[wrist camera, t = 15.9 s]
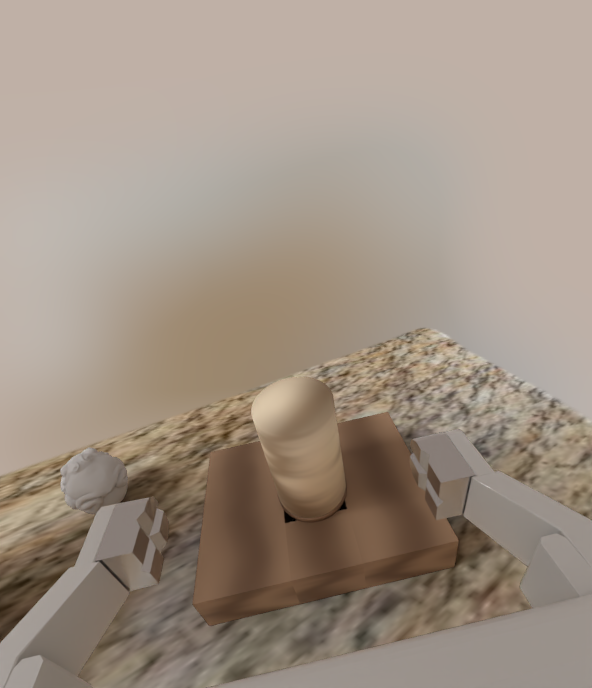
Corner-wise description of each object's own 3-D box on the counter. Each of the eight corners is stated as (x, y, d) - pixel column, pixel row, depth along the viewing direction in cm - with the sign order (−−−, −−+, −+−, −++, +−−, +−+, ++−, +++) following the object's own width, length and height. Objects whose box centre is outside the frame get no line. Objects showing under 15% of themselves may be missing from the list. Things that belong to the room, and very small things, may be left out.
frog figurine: (119, 469, 41) (91, 430, 37) (151, 491, 37) (124, 451, 34) (71, 510, 37) (35, 471, 33) (102, 540, 33) (65, 500, 30)
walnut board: (209, 625, 25) (192, 604, 23) (221, 475, 37) (210, 452, 35) (454, 566, 26) (458, 540, 24) (388, 436, 38) (387, 411, 36)
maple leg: (272, 516, 32) (233, 412, 24) (313, 471, 35) (290, 368, 28) (322, 560, 28) (294, 450, 20) (363, 503, 31) (351, 393, 24)
